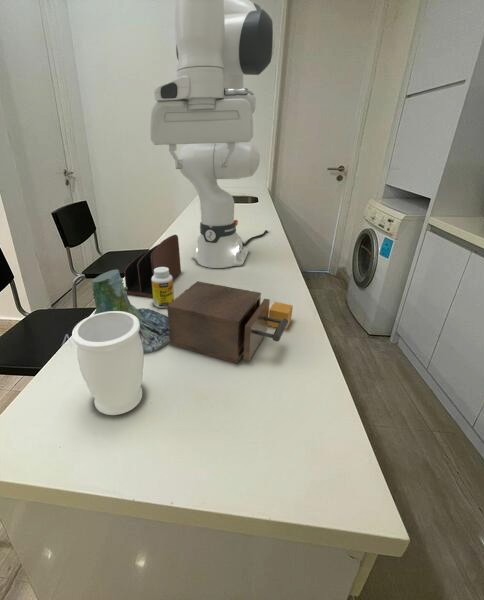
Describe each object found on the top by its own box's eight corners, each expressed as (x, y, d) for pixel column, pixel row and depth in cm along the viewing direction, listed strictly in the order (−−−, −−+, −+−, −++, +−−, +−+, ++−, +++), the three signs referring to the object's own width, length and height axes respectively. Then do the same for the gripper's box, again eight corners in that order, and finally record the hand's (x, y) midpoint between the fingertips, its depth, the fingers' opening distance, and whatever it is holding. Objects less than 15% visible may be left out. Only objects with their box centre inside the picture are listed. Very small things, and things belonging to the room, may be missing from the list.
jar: (129, 428, 53) (116, 351, 46) (76, 412, 56) (56, 338, 49) (158, 384, 62) (150, 314, 55) (110, 373, 65) (98, 306, 58)
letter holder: (181, 272, 110) (179, 231, 104) (157, 298, 94) (153, 251, 87) (154, 270, 113) (150, 229, 107) (126, 294, 96) (119, 248, 90)
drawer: (289, 335, 73) (293, 303, 69) (273, 368, 63) (277, 333, 60) (209, 317, 81) (208, 288, 78) (184, 343, 72) (182, 311, 68)
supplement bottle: (159, 311, 87) (156, 275, 82) (150, 303, 91) (146, 268, 87) (177, 305, 90) (175, 270, 85) (167, 297, 94) (165, 263, 89)
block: (273, 317, 82) (274, 301, 80) (290, 321, 80) (292, 305, 78) (268, 325, 79) (269, 309, 77) (286, 330, 77) (288, 313, 75)
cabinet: (258, 330, 77) (261, 292, 73) (237, 363, 66) (238, 321, 62) (198, 316, 84) (197, 281, 79) (169, 344, 73) (166, 305, 69)
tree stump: (167, 362, 68) (136, 287, 60) (84, 372, 74) (45, 305, 66) (183, 314, 84) (160, 249, 76) (114, 326, 89) (85, 266, 81)
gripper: (253, 90, 65) (249, 165, 71) (149, 93, 65) (155, 168, 71) (259, 85, 59) (254, 167, 65) (145, 89, 60) (151, 171, 66)
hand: (202, 168), depth 68 cm, fingers open, 8 cm apart
